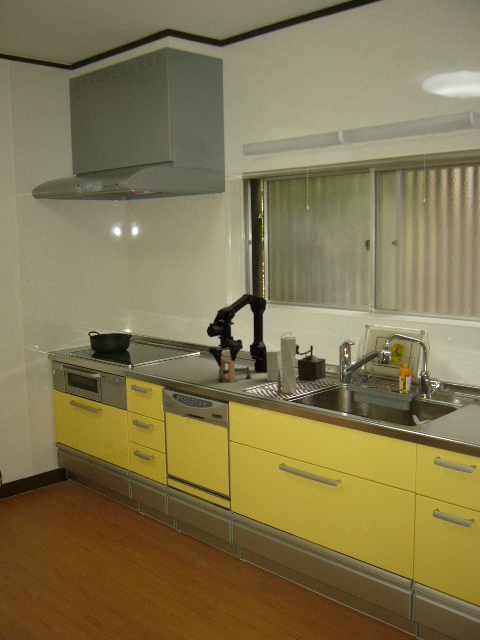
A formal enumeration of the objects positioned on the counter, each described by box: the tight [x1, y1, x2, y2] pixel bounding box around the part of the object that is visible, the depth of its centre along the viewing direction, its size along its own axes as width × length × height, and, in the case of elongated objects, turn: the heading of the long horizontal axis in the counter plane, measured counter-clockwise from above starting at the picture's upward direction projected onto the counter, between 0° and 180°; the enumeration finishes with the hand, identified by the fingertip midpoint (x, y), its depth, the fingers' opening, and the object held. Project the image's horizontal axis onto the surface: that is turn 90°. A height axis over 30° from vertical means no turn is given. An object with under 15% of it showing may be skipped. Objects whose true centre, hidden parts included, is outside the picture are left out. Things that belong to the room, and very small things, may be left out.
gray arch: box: [217, 366, 252, 383], centre depth 336 cm, size 17×9×6 cm, turn 90°
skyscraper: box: [277, 331, 297, 395], centre depth 308 cm, size 8×8×28 cm
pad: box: [215, 378, 239, 384], centre depth 336 cm, size 5×11×1 cm, turn 45°
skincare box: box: [266, 349, 283, 382], centre depth 334 cm, size 8×6×15 cm
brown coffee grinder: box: [296, 343, 327, 382], centre depth 334 cm, size 16×11×18 cm
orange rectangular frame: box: [218, 358, 236, 382], centre depth 336 cm, size 3×8×10 cm, turn 45°
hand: (226, 365), depth 335 cm, fingers open, 9 cm apart
